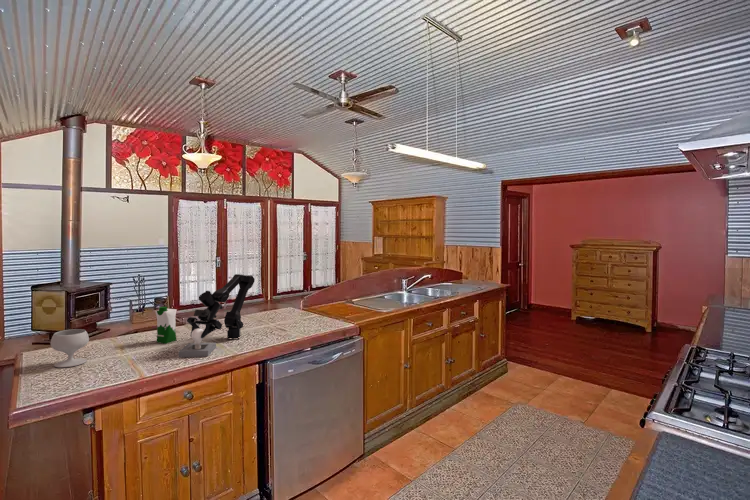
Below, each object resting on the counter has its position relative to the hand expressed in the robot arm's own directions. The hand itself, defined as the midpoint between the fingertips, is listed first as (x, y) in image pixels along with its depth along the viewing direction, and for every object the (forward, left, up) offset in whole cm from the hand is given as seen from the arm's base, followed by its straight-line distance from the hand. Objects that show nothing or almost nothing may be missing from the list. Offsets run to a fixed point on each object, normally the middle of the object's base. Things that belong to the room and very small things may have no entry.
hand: (196, 337), depth 196 cm
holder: (0, -1, -8) cm, 8 cm away
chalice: (+53, +11, -8) cm, 54 cm away
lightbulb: (0, -1, -7) cm, 7 cm away
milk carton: (+24, -23, -8) cm, 34 cm away
